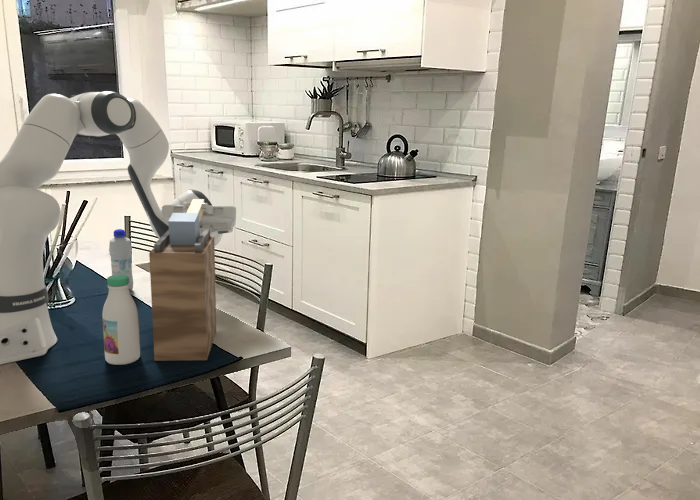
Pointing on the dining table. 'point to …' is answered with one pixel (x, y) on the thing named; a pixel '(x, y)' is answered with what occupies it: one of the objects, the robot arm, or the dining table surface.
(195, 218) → the block with handle
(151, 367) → the dining table surface
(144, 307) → the dining table surface
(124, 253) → the bottle
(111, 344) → the milk bottle
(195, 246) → the walnut stand
